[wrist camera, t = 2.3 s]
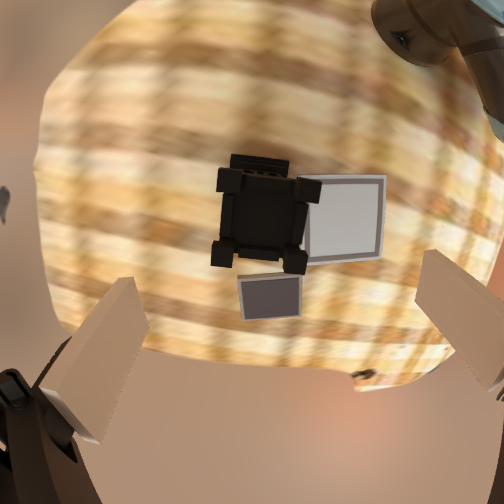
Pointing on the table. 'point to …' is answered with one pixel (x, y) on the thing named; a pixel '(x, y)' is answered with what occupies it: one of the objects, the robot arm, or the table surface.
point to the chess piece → (263, 213)
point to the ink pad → (270, 296)
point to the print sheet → (346, 219)
